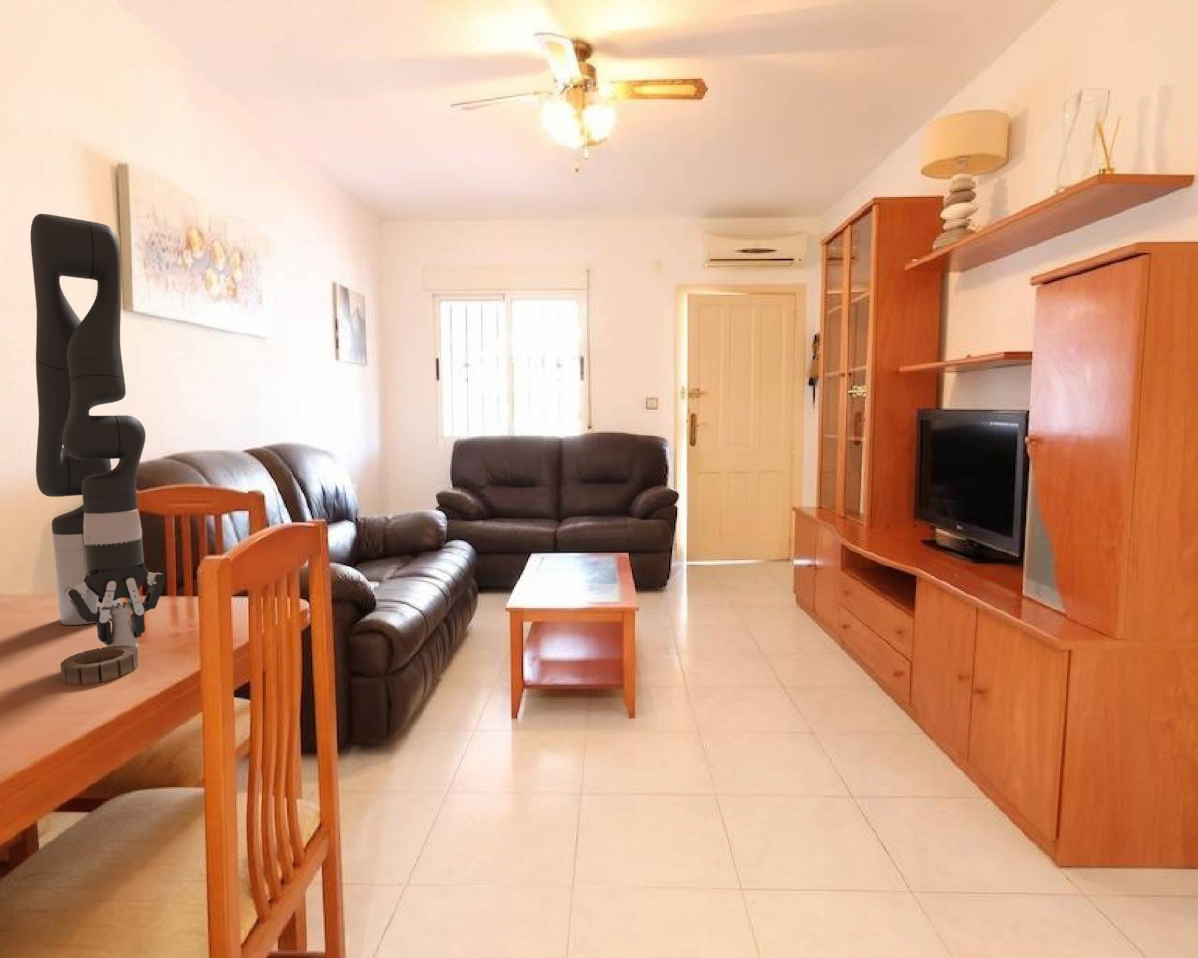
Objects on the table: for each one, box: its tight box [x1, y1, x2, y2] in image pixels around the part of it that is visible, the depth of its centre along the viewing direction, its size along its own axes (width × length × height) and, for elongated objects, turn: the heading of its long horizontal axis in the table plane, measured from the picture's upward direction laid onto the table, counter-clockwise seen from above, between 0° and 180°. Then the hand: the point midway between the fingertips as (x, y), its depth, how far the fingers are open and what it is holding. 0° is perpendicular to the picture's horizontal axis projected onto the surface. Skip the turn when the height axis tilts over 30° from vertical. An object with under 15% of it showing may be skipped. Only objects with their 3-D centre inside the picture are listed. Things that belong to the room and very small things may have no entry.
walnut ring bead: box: [60, 646, 139, 686], centre depth 98 cm, size 9×9×2 cm
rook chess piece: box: [105, 601, 141, 650], centre depth 106 cm, size 4×4×8 cm
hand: (122, 639), depth 106 cm, fingers closed on rook chess piece, 3 cm apart
